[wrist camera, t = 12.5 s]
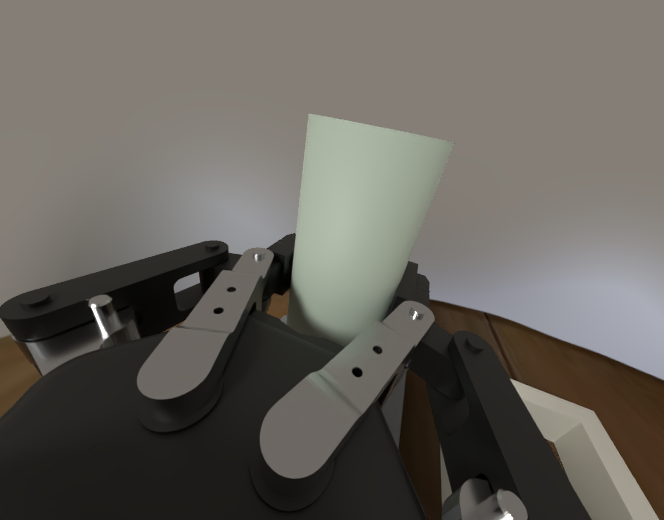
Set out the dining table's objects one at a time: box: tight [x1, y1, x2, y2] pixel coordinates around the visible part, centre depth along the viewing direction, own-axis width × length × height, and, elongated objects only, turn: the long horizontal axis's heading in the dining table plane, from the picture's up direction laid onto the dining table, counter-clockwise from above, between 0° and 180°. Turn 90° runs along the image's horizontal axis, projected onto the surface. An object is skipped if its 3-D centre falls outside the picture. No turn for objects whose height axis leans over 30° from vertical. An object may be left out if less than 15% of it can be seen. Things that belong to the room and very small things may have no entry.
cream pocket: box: [440, 379, 659, 520], centre depth 15 cm, size 10×10×3 cm
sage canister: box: [286, 114, 454, 347], centre depth 12 cm, size 5×5×16 cm
